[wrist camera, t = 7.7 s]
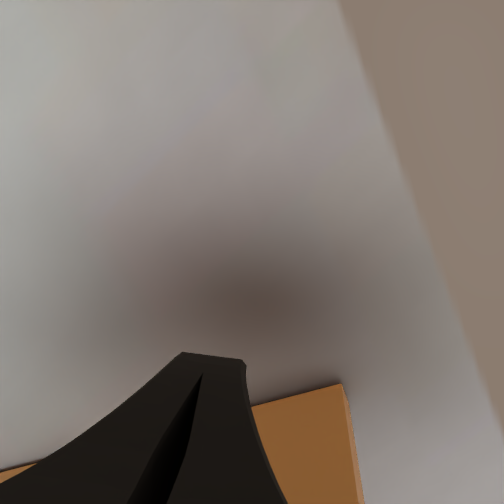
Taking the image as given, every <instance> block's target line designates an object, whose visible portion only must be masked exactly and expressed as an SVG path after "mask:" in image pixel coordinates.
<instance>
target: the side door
mask: <svg viewBox="0 0 504 504" xmlns="http://www.w3.org/2000/svg"><path fill="white" fill-rule="evenodd" d="M251 409H252V412H253V416H254V419H255V423H256V426H257V429H258V433H259V436H260V439H261V441H262V444H263V447H264V450H265V452H266V455H267V457H268V460H269V463H270V465H271V468H272V470H273V472H274V475H275V477H276V479H277V482H278V484H279V486H280V488H281V490H282V492H283V494H284V496H285V498H286V500H287V503H288V504H365V503H364V497H363V490H362V484H361V478H360V471H359V465H358V459H357V452H356V446H355V440H354V433H353V427H352V420H351V414H350V408H349V403H348V400H347V397H346V395H345V392H344V389H343V386H342V384H337V385H333V386H329V387H326V388H322V389H318V390H314V391H310V392H306V393H303V394H299V395H295V396H291V397H287V398H284V399H280V400H276V401H272V402H268V403H264V404H261V405H257V406H253V407H251ZM35 464H36V463H35ZM35 464H31V465H28V466H24V467H20V468H16V469H12V470H8V471H5V472H1V473H0V483H2V482H4V481H6V480H7V479H9V478H11V477H13V476H15V475H17V474H19V473H21V472H22V471H24V470H26V469H28V468H29V467H31V466H33V465H35Z"/></svg>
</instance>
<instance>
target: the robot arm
mask: <svg viewBox="0 0 504 504" xmlns="http://www.w3.org/2000/svg"><path fill="white" fill-rule="evenodd" d="M0 504H288V503H287V500H286V498H285V496H284V494H283V492H282V490H281V488H280V486H279V484H278V482H277V479H276V477H275V475H274V472H273V470H272V468H271V465H270V463H269V460H268V457H267V455H266V452H265V450H264V447H263V444H262V441H261V439H260V436H259V433H258V429H257V426H256V423H255V419H254V416H253V412H252V409H251V405H250V401H249V395H248V390H247V384H246V364H245V363H244V362H243V361H242V360H240V359H232V358H225V357H217V356H210V355H202V354H194V353H187V352H182V353H180V354H179V355H177V356H176V357H175V358H174V359H173V360H172V361H171V362H170V363H168V364H167V365H166V366H165V367H164V368H163V369H162V370H161V371H160V372H159V373H157V374H156V375H155V376H154V377H153V378H152V379H151V380H150V381H148V382H147V383H146V384H145V385H144V386H143V387H142V388H140V389H139V390H138V391H137V392H136V393H134V394H133V395H132V396H131V397H130V398H128V399H127V400H126V401H125V402H123V403H122V404H121V405H120V406H119V407H117V408H116V409H115V410H114V411H112V412H111V413H110V414H108V415H107V416H106V417H104V418H103V419H101V420H100V421H99V422H97V423H96V424H95V425H93V426H92V427H91V428H89V429H88V430H87V431H85V432H84V433H83V434H81V435H80V436H78V437H77V438H75V439H74V440H73V441H71V442H70V443H68V444H67V445H65V446H64V447H62V448H61V449H59V450H57V451H56V452H54V453H53V454H51V455H49V456H48V457H46V458H44V459H43V460H41V461H39V462H38V463H36V464H35V465H33V466H31V467H29V468H28V469H26V470H24V471H22V472H21V473H19V474H17V475H15V476H13V477H11V478H9V479H7V480H6V481H4V482H2V483H0Z"/></svg>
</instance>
